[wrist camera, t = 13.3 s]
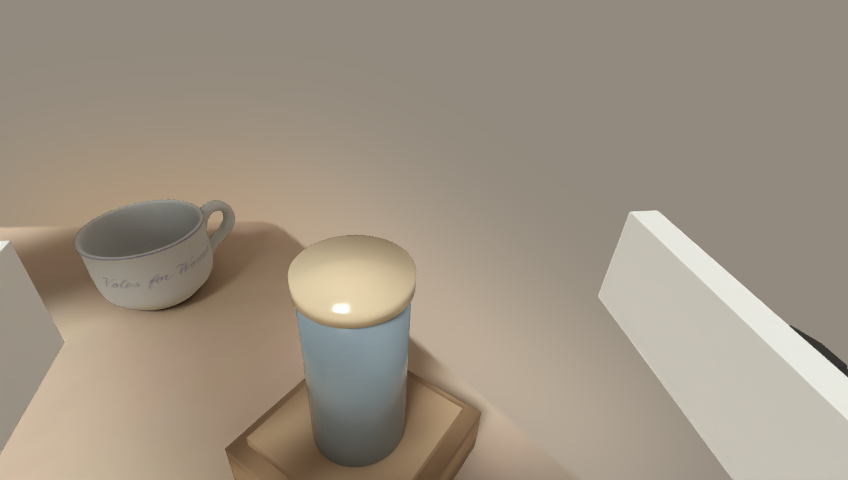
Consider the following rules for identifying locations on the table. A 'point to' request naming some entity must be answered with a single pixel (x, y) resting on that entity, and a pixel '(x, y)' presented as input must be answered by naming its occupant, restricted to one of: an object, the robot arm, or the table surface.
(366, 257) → the canister
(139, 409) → the table surface
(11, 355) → the robot arm
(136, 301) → the teacup
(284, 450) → the pedestal
